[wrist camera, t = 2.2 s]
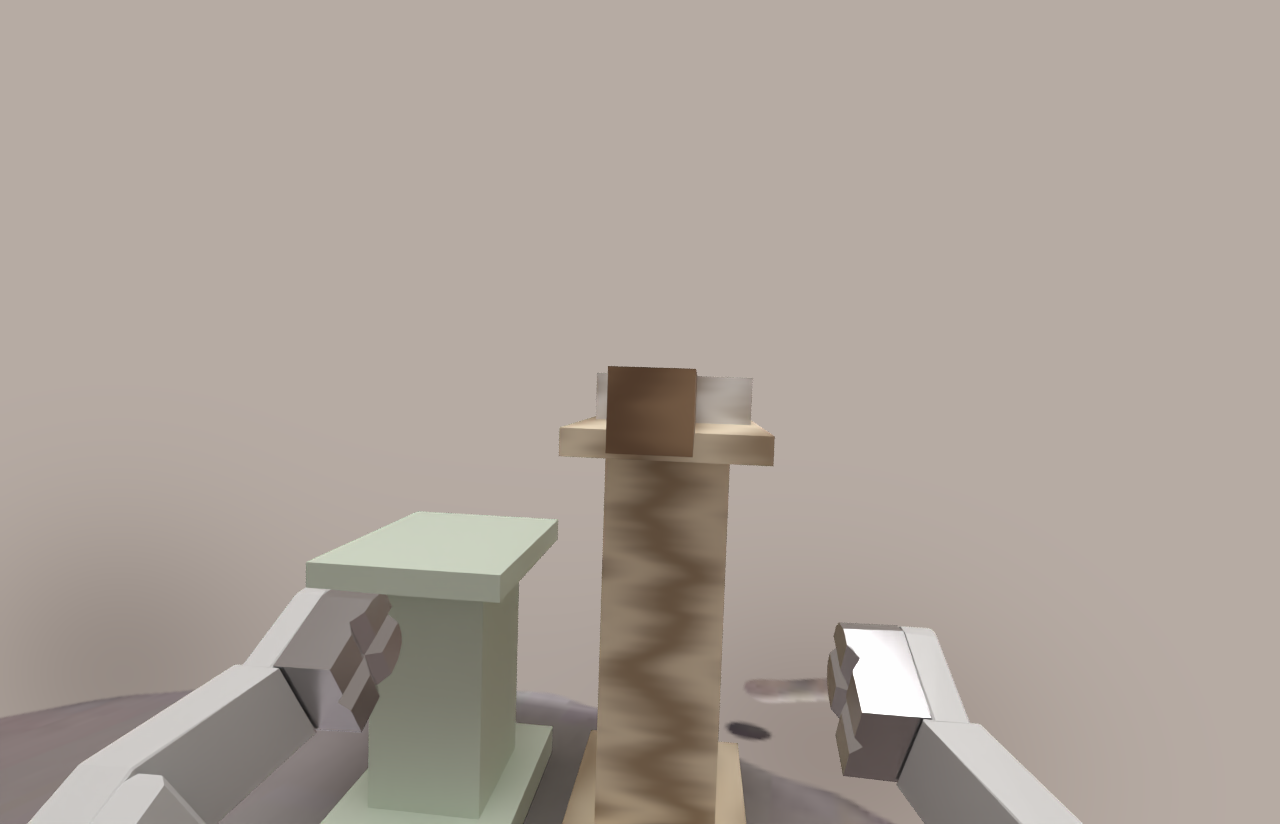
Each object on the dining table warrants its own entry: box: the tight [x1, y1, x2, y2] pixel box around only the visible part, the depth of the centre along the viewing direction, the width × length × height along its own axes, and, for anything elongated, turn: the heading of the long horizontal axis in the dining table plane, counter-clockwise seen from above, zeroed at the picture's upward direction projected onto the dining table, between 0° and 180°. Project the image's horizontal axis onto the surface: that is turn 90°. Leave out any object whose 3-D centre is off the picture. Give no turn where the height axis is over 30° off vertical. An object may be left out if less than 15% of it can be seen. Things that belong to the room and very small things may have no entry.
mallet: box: [596, 366, 753, 457], centre depth 32 cm, size 10×23×3 cm, turn 174°
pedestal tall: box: [559, 416, 775, 824], centre depth 37 cm, size 11×13×26 cm
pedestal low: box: [306, 511, 558, 824], centre depth 39 cm, size 11×13×18 cm
